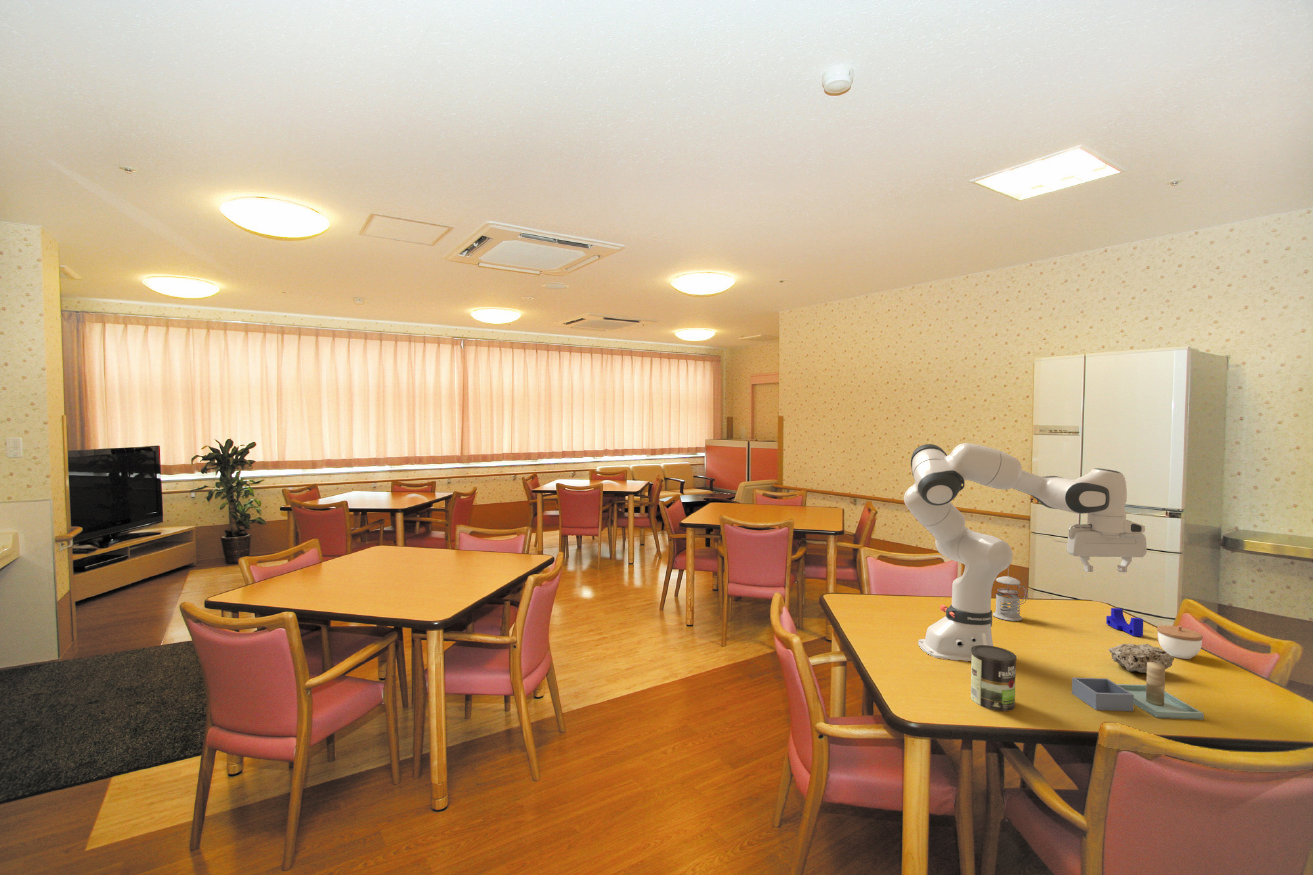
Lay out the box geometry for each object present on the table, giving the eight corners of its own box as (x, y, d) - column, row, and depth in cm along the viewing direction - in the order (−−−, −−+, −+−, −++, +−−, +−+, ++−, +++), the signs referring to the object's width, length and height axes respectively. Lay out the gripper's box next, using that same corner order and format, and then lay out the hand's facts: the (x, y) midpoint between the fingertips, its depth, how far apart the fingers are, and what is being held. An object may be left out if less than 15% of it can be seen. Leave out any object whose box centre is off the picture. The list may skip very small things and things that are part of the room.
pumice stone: (1156, 666, 174) (1157, 640, 174) (1182, 683, 163) (1183, 656, 163) (1104, 661, 177) (1104, 636, 177) (1126, 678, 166) (1126, 651, 166)
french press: (988, 611, 224) (989, 548, 224) (1019, 612, 223) (1021, 549, 222) (999, 620, 215) (1000, 554, 214) (1032, 621, 213) (1034, 555, 212)
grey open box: (1095, 712, 146) (1096, 693, 146) (1071, 695, 156) (1072, 677, 155) (1133, 713, 146) (1133, 694, 146) (1106, 696, 155) (1107, 678, 155)
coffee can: (1024, 710, 148) (1025, 656, 147) (997, 718, 144) (998, 663, 143) (987, 692, 157) (988, 642, 157) (961, 700, 153) (962, 648, 153)
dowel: (1153, 705, 148) (1154, 667, 148) (1142, 698, 152) (1143, 661, 151) (1167, 705, 148) (1169, 668, 148) (1156, 699, 152) (1157, 662, 151)
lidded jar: (1201, 654, 183) (1202, 625, 183) (1202, 665, 175) (1203, 635, 175) (1157, 645, 190) (1158, 617, 190) (1155, 655, 183) (1156, 626, 182)
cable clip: (1106, 623, 212) (1106, 607, 211) (1119, 624, 211) (1119, 608, 211) (1128, 635, 200) (1129, 618, 199) (1142, 636, 199) (1143, 619, 199)
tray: (1156, 720, 143) (1156, 711, 143) (1111, 691, 158) (1111, 683, 158) (1203, 721, 142) (1203, 713, 142) (1153, 692, 157) (1154, 685, 157)
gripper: (1076, 525, 163) (1075, 573, 163) (1151, 526, 162) (1150, 575, 162) (1062, 522, 169) (1061, 568, 170) (1134, 522, 168) (1132, 569, 169)
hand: (1105, 571), depth 166 cm, fingers open, 8 cm apart
